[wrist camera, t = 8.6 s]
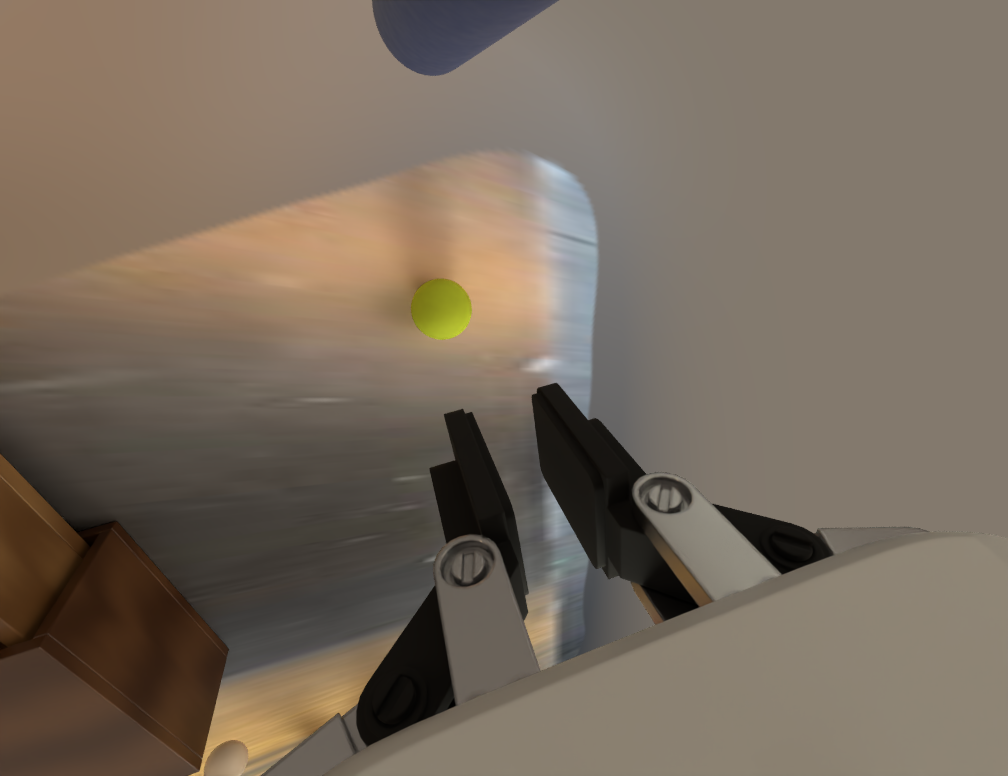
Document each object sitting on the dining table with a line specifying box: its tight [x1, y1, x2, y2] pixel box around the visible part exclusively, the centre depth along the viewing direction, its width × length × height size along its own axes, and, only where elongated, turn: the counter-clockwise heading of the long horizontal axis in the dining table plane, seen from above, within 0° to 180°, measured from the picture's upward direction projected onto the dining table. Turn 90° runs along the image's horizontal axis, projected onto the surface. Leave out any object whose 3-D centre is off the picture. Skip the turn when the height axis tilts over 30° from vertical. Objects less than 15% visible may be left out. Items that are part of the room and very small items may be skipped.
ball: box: [411, 279, 472, 340], centre depth 22 cm, size 3×3×3 cm
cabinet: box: [0, 521, 229, 776], centre depth 24 cm, size 13×7×7 cm, turn 9°
